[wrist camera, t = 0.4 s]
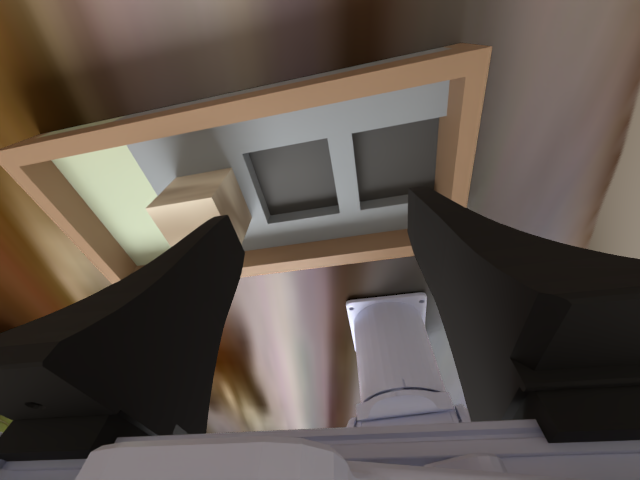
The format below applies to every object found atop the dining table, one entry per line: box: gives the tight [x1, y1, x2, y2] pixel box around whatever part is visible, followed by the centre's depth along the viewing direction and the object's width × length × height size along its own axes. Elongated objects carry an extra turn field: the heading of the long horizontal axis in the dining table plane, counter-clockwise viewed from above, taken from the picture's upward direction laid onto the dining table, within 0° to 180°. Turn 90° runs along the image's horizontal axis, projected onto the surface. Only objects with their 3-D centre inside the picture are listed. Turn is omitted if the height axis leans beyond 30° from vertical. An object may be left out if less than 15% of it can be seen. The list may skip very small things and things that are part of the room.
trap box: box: [0, 43, 492, 284], centre depth 19 cm, size 12×27×4 cm, turn 101°
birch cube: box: [145, 168, 252, 247], centre depth 18 cm, size 4×4×4 cm
